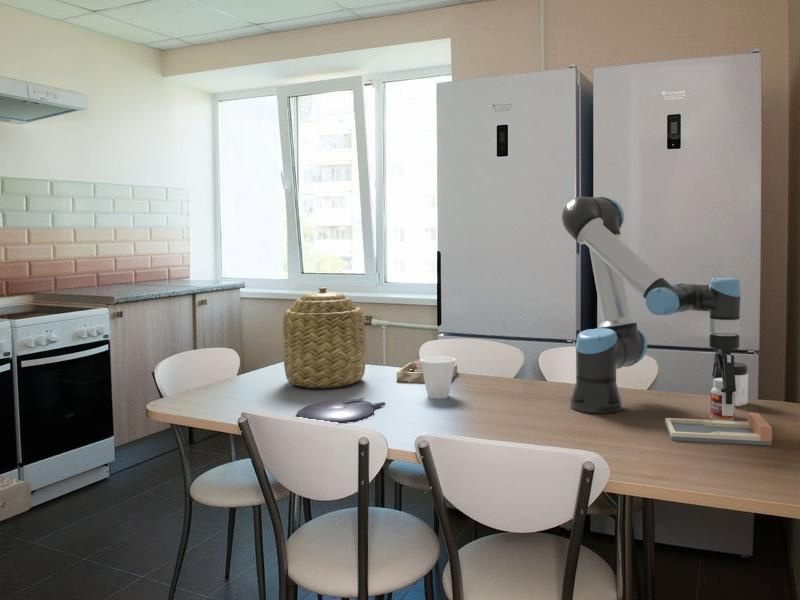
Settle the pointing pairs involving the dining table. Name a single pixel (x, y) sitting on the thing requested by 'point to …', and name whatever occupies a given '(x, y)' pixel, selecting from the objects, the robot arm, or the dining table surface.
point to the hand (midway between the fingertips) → (722, 409)
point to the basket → (324, 341)
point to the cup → (437, 375)
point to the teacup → (418, 365)
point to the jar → (741, 384)
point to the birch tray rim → (414, 373)
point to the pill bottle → (718, 402)
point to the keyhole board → (721, 430)
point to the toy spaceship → (340, 410)
